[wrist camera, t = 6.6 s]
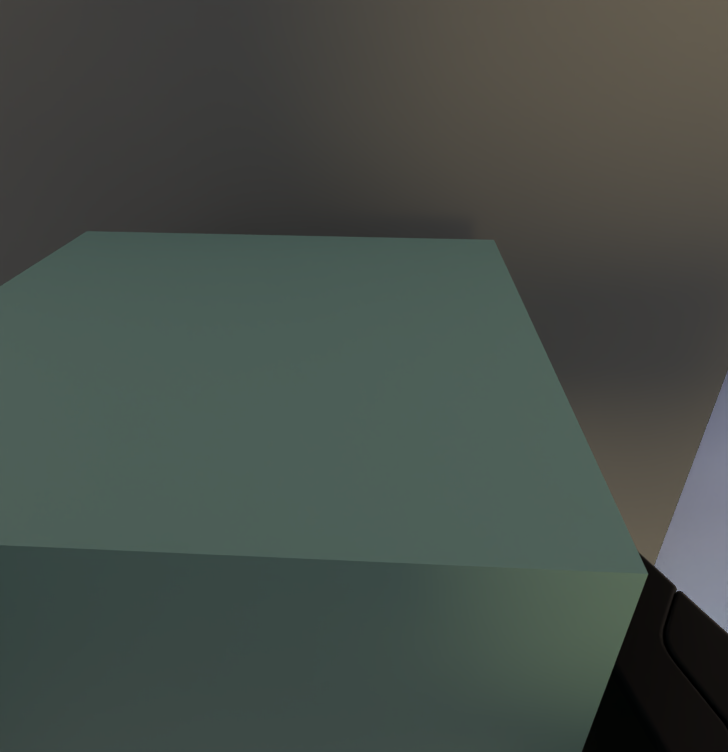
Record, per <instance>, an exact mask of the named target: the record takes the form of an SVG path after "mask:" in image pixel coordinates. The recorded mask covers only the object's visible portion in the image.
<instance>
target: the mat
mask: <svg viewBox="0 0 728 752" xmlns="http://www.w3.org/2000/svg"><path fill="white" fill-rule="evenodd" d="M86 231H103V232H150V233H197V234H244V235H291V236H338V237H385V238H432V239H479V240H494V241H495V243H496V245H497V247H498V250H499V252H500V254H501V256H502V258H503V260H504V263H505V265H506V267H507V269H508V271H509V273H510V276H511V278H512V280H513V282H514V284H515V286H516V289H517V291H518V293H519V295H520V297H521V299H522V302H523V304H524V306H525V308H526V310H527V312H528V315H529V317H530V319H531V321H532V323H533V325H534V328H535V330H536V332H537V334H538V336H539V338H540V341H541V343H542V345H543V347H544V349H545V351H546V354H547V356H548V358H549V360H550V362H551V364H552V367H553V369H554V371H555V373H556V375H557V377H558V380H559V382H560V384H561V386H562V388H563V390H564V393H565V395H566V397H567V399H568V401H569V403H570V406H571V408H572V410H573V412H574V414H575V416H576V419H577V421H578V423H579V425H580V427H581V429H582V432H583V434H584V436H585V438H586V440H587V442H588V445H589V447H590V449H591V451H592V453H593V455H594V458H595V460H596V462H597V464H598V466H599V468H600V470H601V473H602V475H603V477H604V479H605V481H606V483H607V486H608V488H609V490H610V492H611V494H612V496H613V499H614V501H615V503H616V505H617V507H618V509H619V512H620V514H621V516H622V518H623V520H624V522H625V525H626V527H627V529H628V531H629V533H630V535H631V538H632V540H633V542H634V544H635V546H636V548H637V551H638V552H639V553H641V554H642V555H643V556H644V557H645V558H646V559H647V560H648V561H649V562H650V563H651V564H652V565H653V566H654V564H655V562H656V559H657V556H658V554H659V551H660V548H661V546H662V543H663V540H664V538H665V535H666V532H667V530H668V527H669V524H670V522H671V519H672V516H673V514H674V511H675V509H676V506H677V503H678V501H679V498H680V495H681V493H682V490H683V487H684V485H685V482H686V479H687V477H688V474H689V471H690V469H691V466H692V463H693V461H694V458H695V456H696V453H697V450H698V448H699V445H700V442H701V440H702V437H703V434H704V432H705V429H706V426H707V424H708V421H709V418H710V416H711V413H712V410H713V408H714V405H715V403H716V400H717V397H718V395H719V392H720V389H721V387H722V384H723V381H724V379H725V376H726V373H727V371H728V0H0V286H1V285H3V284H4V283H6V282H8V281H9V280H11V279H12V278H14V277H15V276H17V275H19V274H20V273H22V272H23V271H25V270H26V269H28V268H30V267H31V266H33V265H34V264H36V263H38V262H39V261H41V260H42V259H44V258H45V257H47V256H49V255H50V254H52V253H53V252H55V251H56V250H58V249H60V248H61V247H63V246H64V245H66V244H67V243H69V242H71V241H72V240H74V239H75V238H77V237H79V236H80V235H82V234H83V233H85V232H86Z"/></svg>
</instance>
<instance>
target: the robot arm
mask: <svg viewBox="0 0 728 752" xmlns="http://www.w3.org/2000/svg"><path fill="white" fill-rule="evenodd" d="M638 553H639V552H638ZM639 555H640V557H641V559H642V561H643V564H644V566H645V568H646V570H647V572H648V576H647V579H646V581H645V584H644V587H643V589H642V592H641V595H640V597H639V600H638V603H637V605H636V608H635V611H634V613H633V616H632V619H631V621H630V624H629V627H628V629H627V632H626V635H625V637H624V640H623V643H622V645H621V648H620V651H619V653H618V656H617V659H616V661H615V664H614V667H613V669H612V672H611V675H610V678H609V680H608V683H607V686H606V688H605V691H604V694H603V696H602V699H601V702H600V704H599V707H598V710H597V712H596V715H595V718H594V720H593V723H592V726H591V728H590V731H589V734H588V736H587V739H586V742H585V744H584V747H583V750H582V752H728V633H727V632H726V631H725V630H724V629H723V628H721V627H720V626H719V625H718V624H717V623H716V622H715V621H713V620H712V619H711V618H710V617H709V616H708V615H707V614H706V613H705V612H703V611H702V610H701V609H700V608H699V607H698V606H697V605H696V604H695V603H694V602H693V601H692V600H690V599H689V598H688V597H687V596H686V595H685V594H684V593H683V592H681V591H677V592H676V590H677V588H676V586H675V585H674V584H673V583H672V582H671V581H670V580H669V579H668V578H666V577H665V576H664V575H663V574H662V573H661V572H660V571H659V570H658V569H657V568H656V567H655V566H653V565H652V564H651V563H650V562H649V561H648V560H647V559H646V558H645V557H644V556H643V555H642V554H641V553H639Z"/></svg>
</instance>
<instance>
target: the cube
mask: <svg viewBox="0 0 728 752" xmlns="http://www.w3.org/2000/svg"><path fill="white" fill-rule="evenodd" d="M647 576H648V572H647V570H646V568H645V566H644V564H643V561H642V559H641V557H640V555H639V553H638V551H637V548H636V546H635V544H634V542H633V540H632V538H631V535H630V533H629V531H628V529H627V527H626V525H625V522H624V520H623V518H622V516H621V514H620V512H619V509H618V507H617V505H616V503H615V501H614V499H613V496H612V494H611V492H610V490H609V488H608V486H607V483H606V481H605V479H604V477H603V475H602V473H601V470H600V468H599V466H598V464H597V462H596V460H595V458H594V455H593V453H592V451H591V449H590V447H589V445H588V442H587V440H586V438H585V436H584V434H583V432H582V429H581V427H580V425H579V423H578V421H577V419H576V416H575V414H574V412H573V410H572V408H571V406H570V403H569V401H568V399H567V397H566V395H565V393H564V390H563V388H562V386H561V384H560V382H559V380H558V377H557V375H556V373H555V371H554V369H553V367H552V364H551V362H550V360H549V358H548V356H547V354H546V351H545V349H544V347H543V345H542V343H541V341H540V338H539V336H538V334H537V332H536V330H535V328H534V325H533V323H532V321H531V319H530V317H529V315H528V312H527V310H526V308H525V306H524V304H523V302H522V299H521V297H520V295H519V293H518V291H517V289H516V286H515V284H514V282H513V280H512V278H511V276H510V273H509V271H508V269H507V267H506V265H505V263H504V260H503V258H502V256H501V254H500V252H499V250H498V247H497V245H496V243H495V241H494V240H479V239H432V238H385V237H338V236H291V235H244V234H197V233H150V232H103V231H86V232H85V233H83V234H82V235H80V236H79V237H77V238H75V239H74V240H72V241H71V242H69V243H67V244H66V245H64V246H63V247H61V248H60V249H58V250H56V251H55V252H53V253H52V254H50V255H49V256H47V257H45V258H44V259H42V260H41V261H39V262H38V263H36V264H34V265H33V266H31V267H30V268H28V269H26V270H25V271H23V272H22V273H20V274H19V275H17V276H15V277H14V278H12V279H11V280H9V281H8V282H6V283H4V284H3V285H1V286H0V752H582V750H583V747H584V744H585V742H586V739H587V736H588V734H589V731H590V728H591V726H592V723H593V720H594V718H595V715H596V712H597V710H598V707H599V704H600V702H601V699H602V696H603V694H604V691H605V688H606V686H607V683H608V680H609V678H610V675H611V672H612V669H613V667H614V664H615V661H616V659H617V656H618V653H619V651H620V648H621V645H622V643H623V640H624V637H625V635H626V632H627V629H628V627H629V624H630V621H631V619H632V616H633V613H634V611H635V608H636V605H637V603H638V600H639V597H640V595H641V592H642V589H643V587H644V584H645V581H646V579H647Z"/></svg>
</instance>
